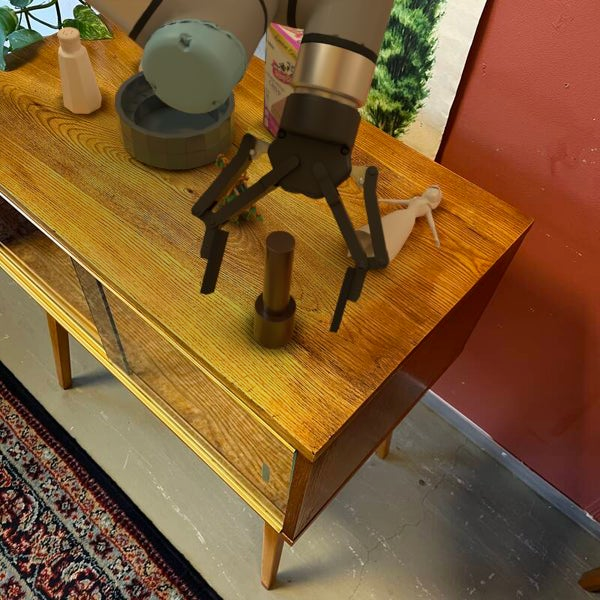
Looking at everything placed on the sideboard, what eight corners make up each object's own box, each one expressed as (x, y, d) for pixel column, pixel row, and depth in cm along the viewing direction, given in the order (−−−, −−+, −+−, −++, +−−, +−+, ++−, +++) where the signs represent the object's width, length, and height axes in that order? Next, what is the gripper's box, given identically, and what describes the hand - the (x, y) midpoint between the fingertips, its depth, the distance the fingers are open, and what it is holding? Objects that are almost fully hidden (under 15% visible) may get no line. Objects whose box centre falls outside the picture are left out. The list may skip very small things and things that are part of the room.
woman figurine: (321, 219, 78) (405, 156, 88) (315, 246, 82) (398, 182, 92) (401, 273, 74) (480, 200, 84) (392, 298, 78) (469, 226, 88)
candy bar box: (260, 125, 95) (264, 17, 82) (290, 115, 97) (298, 8, 84) (301, 173, 90) (312, 66, 77) (332, 162, 92) (348, 55, 79)
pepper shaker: (96, 88, 97) (82, 17, 89) (107, 109, 95) (94, 38, 86) (59, 96, 96) (41, 25, 87) (69, 118, 93) (52, 47, 84)
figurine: (228, 184, 87) (227, 134, 81) (273, 245, 82) (276, 196, 75) (206, 191, 86) (204, 141, 80) (251, 253, 80) (252, 205, 74)
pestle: (249, 344, 73) (252, 253, 61) (258, 312, 75) (262, 220, 63) (288, 352, 72) (299, 263, 60) (296, 320, 75) (308, 229, 63)
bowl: (103, 161, 88) (96, 124, 83) (143, 92, 98) (138, 56, 93) (217, 183, 87) (216, 147, 83) (246, 112, 97) (247, 76, 92)
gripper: (449, 138, 66) (390, 340, 69) (215, 79, 69) (168, 275, 72) (455, 127, 59) (388, 353, 62) (193, 61, 62) (141, 280, 65)
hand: (269, 311), depth 67 cm, fingers open, 13 cm apart
